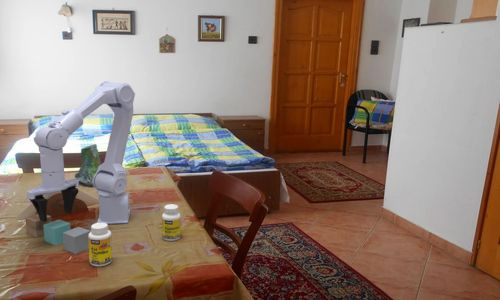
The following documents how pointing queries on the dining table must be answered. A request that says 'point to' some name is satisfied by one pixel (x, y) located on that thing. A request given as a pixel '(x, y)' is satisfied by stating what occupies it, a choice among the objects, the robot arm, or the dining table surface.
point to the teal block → (55, 231)
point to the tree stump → (88, 165)
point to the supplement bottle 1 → (100, 245)
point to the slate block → (76, 240)
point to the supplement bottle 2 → (171, 223)
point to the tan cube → (36, 225)
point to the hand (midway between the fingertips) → (56, 216)
